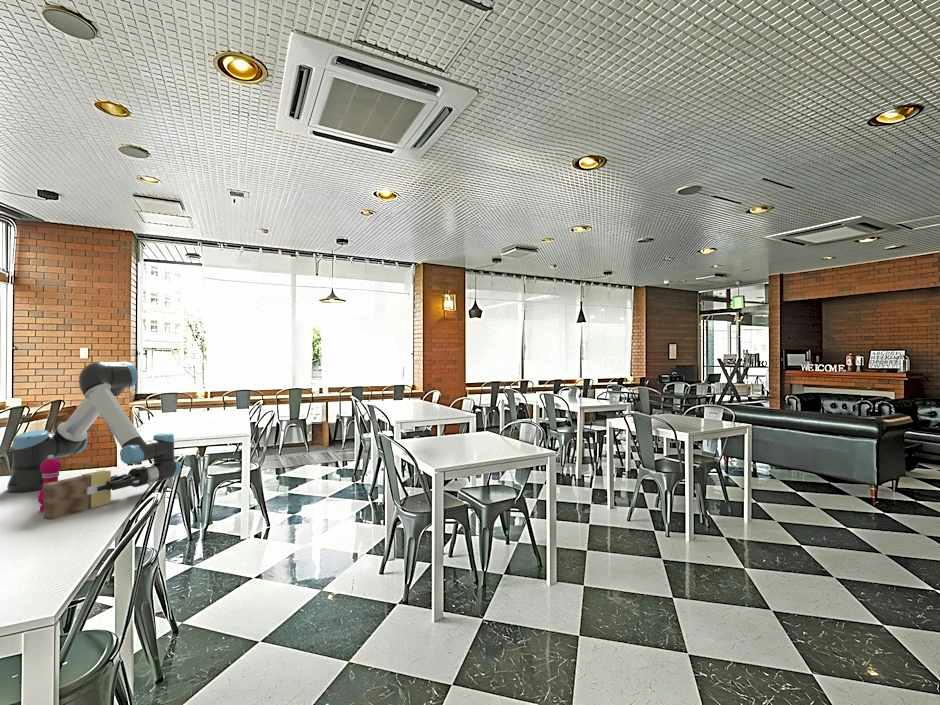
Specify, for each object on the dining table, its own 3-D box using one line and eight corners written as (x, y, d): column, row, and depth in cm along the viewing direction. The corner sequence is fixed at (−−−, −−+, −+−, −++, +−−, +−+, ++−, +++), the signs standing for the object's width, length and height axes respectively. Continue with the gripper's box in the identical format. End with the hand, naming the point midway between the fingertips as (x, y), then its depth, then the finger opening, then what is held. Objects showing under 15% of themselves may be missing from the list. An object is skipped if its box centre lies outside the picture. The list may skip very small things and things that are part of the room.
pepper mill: (49, 513, 184) (48, 457, 184) (32, 512, 185) (32, 456, 185) (68, 507, 191) (68, 453, 191) (52, 506, 192) (52, 452, 192)
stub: (103, 501, 197) (103, 470, 197) (110, 502, 196) (110, 470, 196) (81, 507, 190) (81, 474, 190) (89, 508, 188) (88, 475, 188)
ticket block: (80, 508, 189) (80, 476, 189) (87, 509, 188) (87, 476, 188) (43, 518, 178) (43, 483, 178) (51, 520, 177) (51, 485, 176)
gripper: (158, 486, 207) (98, 503, 185) (127, 483, 213) (66, 498, 191) (158, 468, 207) (98, 482, 185) (127, 465, 213) (66, 478, 191)
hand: (82, 490), depth 188 cm, fingers closed on stub, 4 cm apart
